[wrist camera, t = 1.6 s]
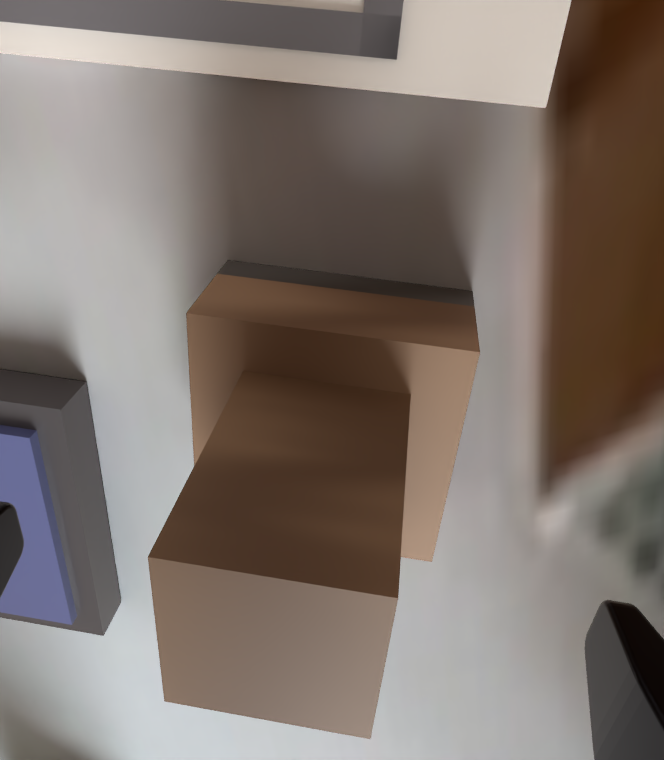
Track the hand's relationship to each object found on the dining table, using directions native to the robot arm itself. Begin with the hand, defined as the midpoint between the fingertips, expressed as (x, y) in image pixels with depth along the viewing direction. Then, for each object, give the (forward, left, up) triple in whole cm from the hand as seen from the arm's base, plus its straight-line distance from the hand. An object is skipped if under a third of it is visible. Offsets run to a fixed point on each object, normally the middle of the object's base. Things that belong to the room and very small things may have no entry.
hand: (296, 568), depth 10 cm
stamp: (0, 0, -5) cm, 5 cm away
